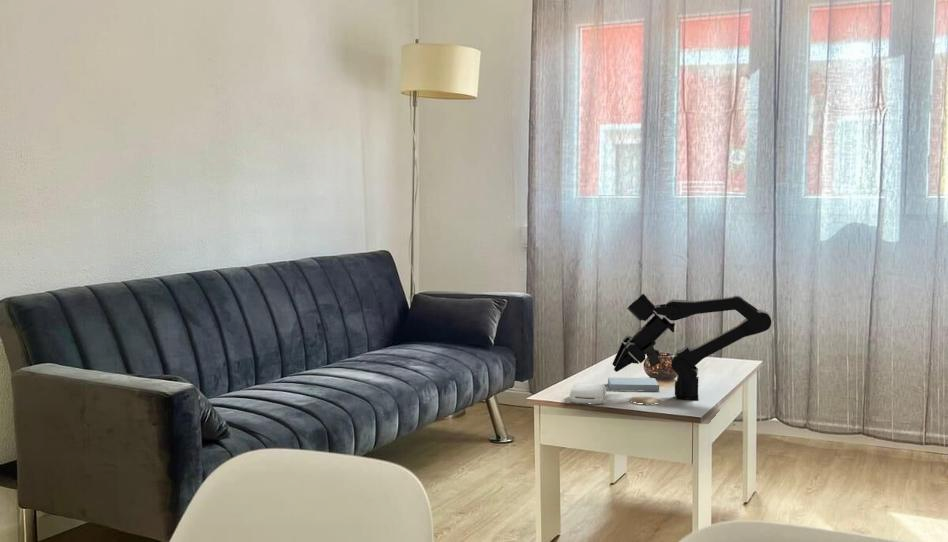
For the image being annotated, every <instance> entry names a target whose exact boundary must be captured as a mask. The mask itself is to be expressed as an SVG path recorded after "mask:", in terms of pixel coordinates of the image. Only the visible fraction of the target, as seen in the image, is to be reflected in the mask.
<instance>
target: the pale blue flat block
mask: <svg viewBox="0 0 948 542" xmlns="http://www.w3.org/2000/svg"><path fill="white" fill-rule="evenodd" d="M608 384H609V385H608ZM607 385H608V387H609V390H610V389H611V390H644V391H643V392H660V384H659V382H658V381H657V380H656V378H653V377H607ZM611 390H610V391H611Z"/></svg>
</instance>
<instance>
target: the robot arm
mask: <svg viewBox="0 0 948 542" xmlns="http://www.w3.org/2000/svg"><path fill="white" fill-rule="evenodd" d="M626 310H628V311H629V312H630V313H631V314H632V315H633V316H634V317H635V318H636V319H637V320H638V321H639V322H641V321H643V322H646V321H647V320H648V319H649V318H650V317H651V318H650V319H649V320H648V321H647V322H646V323H645V324H644V325H643V326H641V327H639V328H638V331H637V332H636V333H635V334H634V335H633V336H632V335H626V336H625V337H624V338H623V339H622V341H621V343H620V344H619V347H618V350H617V352H616V355H615V357H614V359H613V362H612V366H613V367H614V368H613V370H614V371H615V373H617V372H619V371H621V370H623V369H624V368H626V367H627V366H629V365H631V364H636V365H639V364H643V362H644V361H645V360H646V357H647V360H648V363H649V364H650V367H651V368H653V367H656V366H657V365H660V364H661V363H662V362H661V360H660V358H659V357H660V355H661V353H660V351H659V349H657V348H656V349H655V347H654V346H655V345H656V341H657V340H658V339H659V338H661V336H663V334H664V333H665V332H667V330H669V331H670V332H672V333H674V332H675V325H676V323H674V322H673V323H672V322H671V321H679V320H682V319H686V318H688V317H690V316H691V317H692V316H693V315H701V314H708V313H709V314H710V313H718V312H719V313H720V312H725V311H726V312H727V311H736V312H737V313H739V314H740V315H741V316H742V317H744V319H743V320H742V321H740V323H739V324H737V325H735V326H733V327H732V328H730V329H728V330H726V331H724V332H722V333H721V334H719V335H717V336H715V337H713V338H711V339H710V340H709V339H708V341H706V342H704V343H702V344H700V345H697V346H696V347H695V346H694V347H690V344H687V345H685V346H684V347H683V348H681V349H676V352H675V354H674V355H673V356H672V360H671V362H670V365H671V369H672V371H674V372H675V373H676V374H677V376H676V380H675V381H674V396H675V399H676V398H678V399H679V400H695V401H696V400H697V401H699V376H698V375H699V374H698V373H699V368H698V367H697V365H698V364H699V363H700V362H701V361H703V360H704V359H705V358H708V357H709V356H711V355H713V354H715V353H717V352H718V351H721V350H723V349H724V348H726V347H728V346H730V345H732V344H734V343H736V342H737V341H740V340H741V339H744V338H747V337H750V336H754V335H758V334H760V333H763V332H767V331H768V330H769V329H770V328H771V326H772V318H771V315H770V314H769V313H768V311H766V310H764V309H758V308H757V307H755V306H754V305H752V304H751V303H749V302H748V301H747V300H745V299H744V297H742V296H740V295H734V296H729V297H721V298H719V297H718V298H712V299H711V298H710V299H703V300H685V299H669V300H668V301H666V303H663V304H656V305H655V304H654V303H653V302H652V301H651V300H650V299H649V297H648V296H647V295H646V294H645V293H642V294H641V295H639V297H638V298H636V299H635V300H634V301H633V302H632V303H631V304H629V306H628V307H627V308H626ZM652 315H653V316H652ZM659 315H660V316H663V317H660V316H659ZM678 399H677V400H678Z"/></svg>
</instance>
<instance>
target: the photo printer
mask: <svg viewBox="0 0 948 542" xmlns="http://www.w3.org/2000/svg"><path fill="white" fill-rule="evenodd" d="M606 394H607V389H606V386H605V385H604V384H600V383H599V384H598V383H573V385H572V388H571V391H570V393H569V398H570V399H569V400H570V402H571V403H574V402H576V403H575V404H579V403H591V404H590V405H601V403H602V404H603V403H604V401H605V397H606Z"/></svg>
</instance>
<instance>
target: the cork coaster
mask: <svg viewBox="0 0 948 542" xmlns="http://www.w3.org/2000/svg"><path fill="white" fill-rule="evenodd" d="M630 401H632V402H636V403H643V404H655V403H660V402H661V403H662V401H661V399H660V398H657V397H655V396H654V397H653V396H633V397H631V398H629V402H630ZM661 403H660V404H661Z"/></svg>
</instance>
